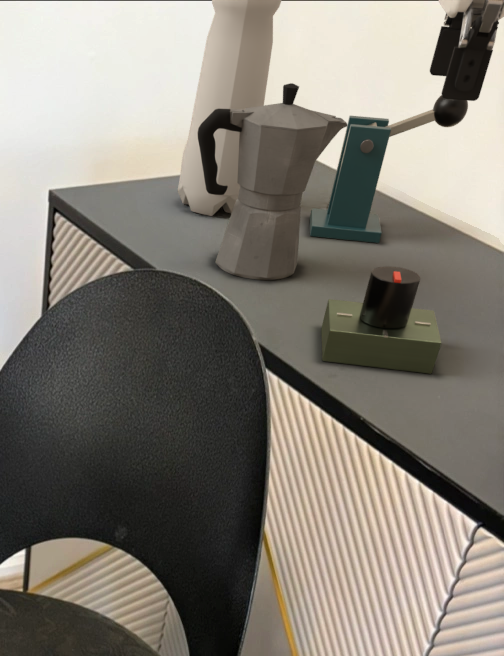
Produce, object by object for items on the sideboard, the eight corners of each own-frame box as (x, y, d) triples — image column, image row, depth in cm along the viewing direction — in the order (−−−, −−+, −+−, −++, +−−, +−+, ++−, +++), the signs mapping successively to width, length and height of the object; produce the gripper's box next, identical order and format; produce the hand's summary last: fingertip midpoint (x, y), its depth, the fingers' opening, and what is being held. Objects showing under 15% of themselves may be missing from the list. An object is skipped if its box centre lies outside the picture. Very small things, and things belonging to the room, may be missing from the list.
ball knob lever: (468, 115, 125) (463, 81, 123) (471, 123, 122) (467, 89, 120) (355, 156, 130) (349, 124, 128) (356, 164, 127) (350, 132, 125)
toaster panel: (424, 339, 109) (434, 307, 107) (431, 375, 103) (442, 342, 101) (321, 327, 111) (328, 296, 109) (322, 362, 105) (330, 329, 103)
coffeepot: (302, 251, 128) (341, 74, 116) (326, 281, 121) (370, 96, 109) (169, 250, 127) (196, 71, 115) (186, 280, 120) (215, 93, 108)
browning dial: (358, 308, 107) (371, 260, 104) (405, 313, 106) (419, 265, 103) (360, 325, 104) (373, 276, 101) (408, 331, 103) (423, 282, 100)
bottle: (260, 217, 137) (318, -82, 117) (191, 220, 135) (238, -83, 115) (231, 194, 143) (281, -92, 123) (165, 197, 142) (205, -93, 122)
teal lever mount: (376, 224, 136) (404, 118, 128) (379, 243, 131) (408, 133, 123) (309, 218, 137) (333, 111, 129) (309, 236, 132) (334, 126, 124)
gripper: (457, -153, 99) (402, 64, 111) (486, -139, 87) (420, 105, 98) (545, -149, 98) (480, 70, 110) (587, -134, 86) (508, 112, 97)
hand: (452, 86), depth 104 cm, fingers open, 9 cm apart
